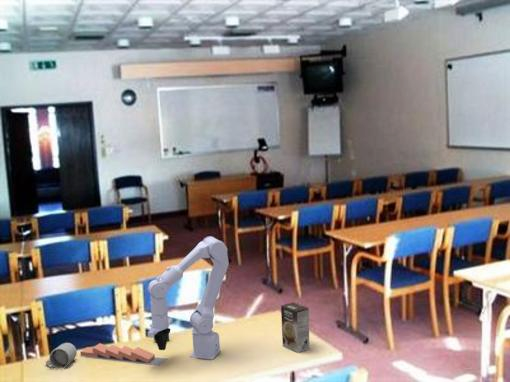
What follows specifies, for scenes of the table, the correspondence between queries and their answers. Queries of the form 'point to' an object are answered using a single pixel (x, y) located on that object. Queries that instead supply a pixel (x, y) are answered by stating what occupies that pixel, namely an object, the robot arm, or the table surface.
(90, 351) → the domino
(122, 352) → the domino
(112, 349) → the domino
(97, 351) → the domino
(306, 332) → the coffee box
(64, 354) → the ceramic mug
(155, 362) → the runner mat
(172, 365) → the table surface
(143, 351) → the domino
